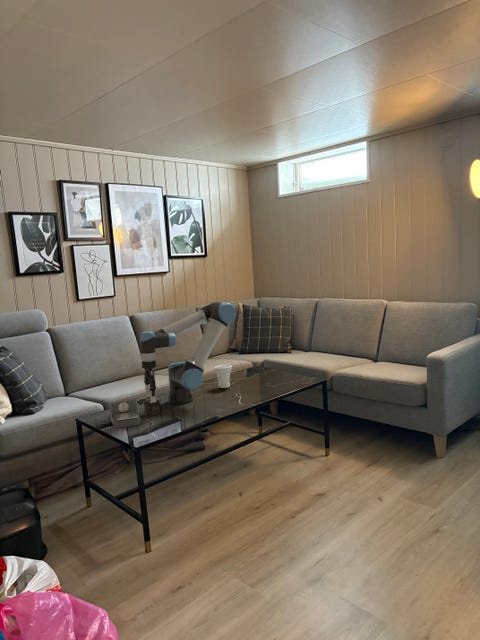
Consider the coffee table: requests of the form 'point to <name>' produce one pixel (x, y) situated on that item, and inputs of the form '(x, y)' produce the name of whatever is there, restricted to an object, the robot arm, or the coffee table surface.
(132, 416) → the pan
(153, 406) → the box
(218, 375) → the cup
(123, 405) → the scale
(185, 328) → the robot arm
